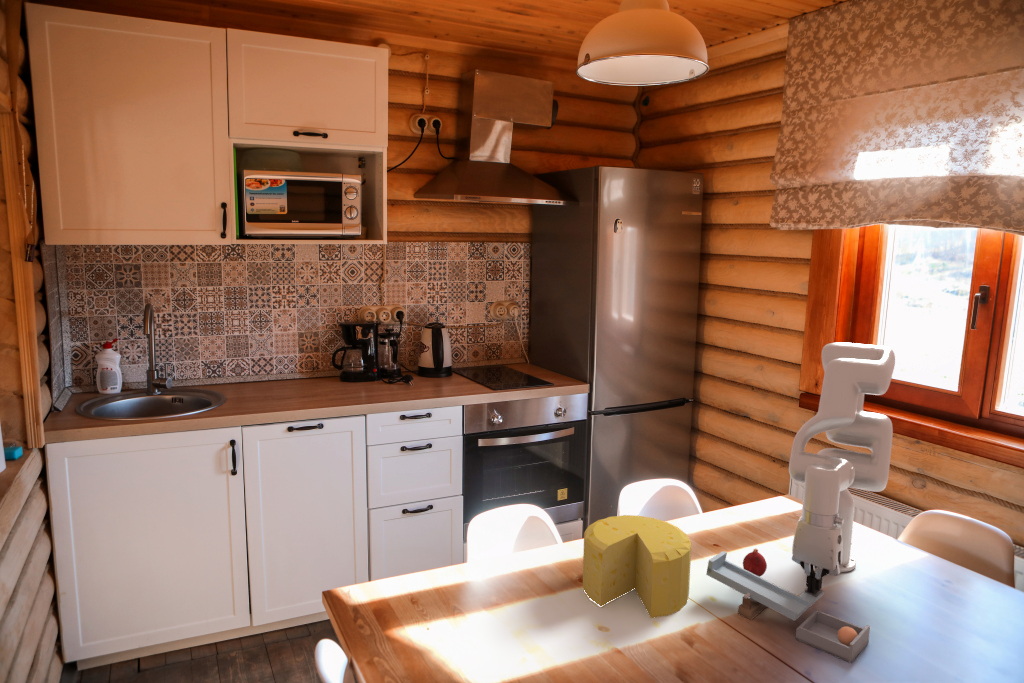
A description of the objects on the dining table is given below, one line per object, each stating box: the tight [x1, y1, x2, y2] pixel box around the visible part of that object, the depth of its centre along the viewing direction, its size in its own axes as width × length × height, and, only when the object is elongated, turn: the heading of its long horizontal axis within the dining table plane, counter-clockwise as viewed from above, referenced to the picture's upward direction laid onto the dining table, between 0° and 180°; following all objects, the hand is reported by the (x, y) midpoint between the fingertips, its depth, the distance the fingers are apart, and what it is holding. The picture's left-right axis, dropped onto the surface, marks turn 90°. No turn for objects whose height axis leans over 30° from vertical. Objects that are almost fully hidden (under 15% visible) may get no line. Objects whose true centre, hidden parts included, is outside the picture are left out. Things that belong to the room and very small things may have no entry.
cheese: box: [582, 514, 692, 619], centre depth 168 cm, size 26×26×15 cm
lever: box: [705, 550, 825, 622], centre depth 162 cm, size 18×22×4 cm
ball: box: [838, 627, 858, 647], centre depth 145 cm, size 4×4×4 cm
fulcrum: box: [737, 596, 768, 621], centre depth 160 cm, size 10×3×4 cm, turn 134°
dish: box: [795, 610, 871, 664], centre depth 148 cm, size 10×12×4 cm
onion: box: [742, 548, 768, 577], centre depth 175 cm, size 6×6×8 cm
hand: (813, 591), depth 159 cm, fingers closed
